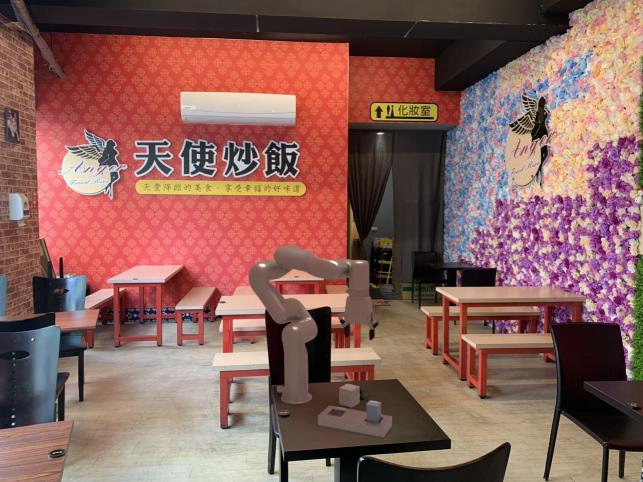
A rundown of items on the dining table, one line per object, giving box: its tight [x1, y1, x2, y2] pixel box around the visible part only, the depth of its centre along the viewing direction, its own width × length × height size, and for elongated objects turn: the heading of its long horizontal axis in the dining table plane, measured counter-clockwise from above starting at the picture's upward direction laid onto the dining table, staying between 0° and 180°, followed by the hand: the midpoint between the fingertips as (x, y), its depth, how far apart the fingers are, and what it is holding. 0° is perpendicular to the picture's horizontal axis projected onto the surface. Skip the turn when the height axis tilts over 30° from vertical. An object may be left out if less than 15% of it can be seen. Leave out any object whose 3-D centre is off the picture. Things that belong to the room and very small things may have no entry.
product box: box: [338, 383, 361, 409], centre depth 185 cm, size 6×6×7 cm
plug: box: [365, 400, 382, 424], centre depth 162 cm, size 4×4×10 cm
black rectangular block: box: [359, 386, 370, 402], centre depth 193 cm, size 12×7×5 cm, turn 75°
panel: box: [317, 405, 393, 439], centre depth 165 cm, size 24×10×4 cm, turn 65°
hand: (359, 338), depth 177 cm, fingers open, 9 cm apart
